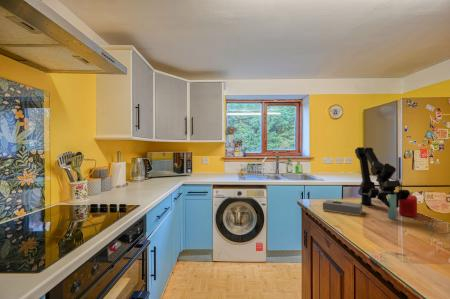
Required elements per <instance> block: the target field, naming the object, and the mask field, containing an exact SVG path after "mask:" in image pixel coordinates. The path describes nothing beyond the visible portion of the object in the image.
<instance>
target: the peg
mask: <svg viewBox="0 0 450 299" xmlns="http://www.w3.org/2000/svg"><path fill="white" fill-rule="evenodd" d="M387 200H388V202H389V205H390V207H387V208H388V209H387V211H388V212H387V214H388V215H387V218H389V219H388V220H392V221H395V220H396V221H397V207H396V195H395V194H388V196H387Z"/></svg>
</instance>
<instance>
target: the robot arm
mask: <svg viewBox="0 0 450 299" xmlns="http://www.w3.org/2000/svg"><path fill="white" fill-rule="evenodd" d="M354 153H355V156H356V158H357V159H358V160H359V165H360V171H361V174H360V175H361V180H362V181H361V183H360V187H359V189H358V191H357V194H358V195H359V196H361V202H360V203H359V204H362V206H373V203H372V199H377V200H379V201H380V202H382V203H383V204H384V205H385V206H386V207H387V208H388V207H390V205H389V202H388V194H395V195H396V209H398V208H399V207H398V205H399V200H400V199H407V198H408V196H409V195H411V192H410V190H408V189H399V191H396V188H397V187H401V182H400V180H399V179H397V180H396V179H395V180H390V179H391V178H392V177H393V176H394V175H395V172H396V171H397V169H396V167H395V166H393V165H391V164H390V163H385V164H383V163H382V162H381V161H379V159H378V157H377V156H376V153H375V152H374V148H373V147H365V146H364V147H362V146H360V147H356V148H355V149H354ZM369 164H370V166H371V167H370V166H369ZM370 172H371V174H370ZM371 175H373V176H376V179H375V180H376V181H375V182H378V183H377V184H378V186H379V187H378V188H376V185H375V182H373V181H372V180H371Z"/></svg>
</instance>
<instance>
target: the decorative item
mask: <svg viewBox="0 0 450 299" xmlns="http://www.w3.org/2000/svg"><path fill="white" fill-rule="evenodd" d="M398 208H399V209H398V213H399V215H400V216H405V217H413V218H415V217H417V216H418V197H417V196H415V195H411V194H410V195H409V196H408V198H407V199H400V200H399V205H398Z"/></svg>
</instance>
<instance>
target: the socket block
mask: <svg viewBox="0 0 450 299" xmlns="http://www.w3.org/2000/svg"><path fill="white" fill-rule="evenodd" d="M322 210H323V211H326V210H327V212H328V211H329V212H334V213H340V214H341V213H342V214H348V215H354V216H361V214H362V213H363V204H360V203H358V202H357V203H356V202H355V203H354V202H347V201H341V200H339V201H338V200H331V199H326V200H325V201H323V202H322Z"/></svg>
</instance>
